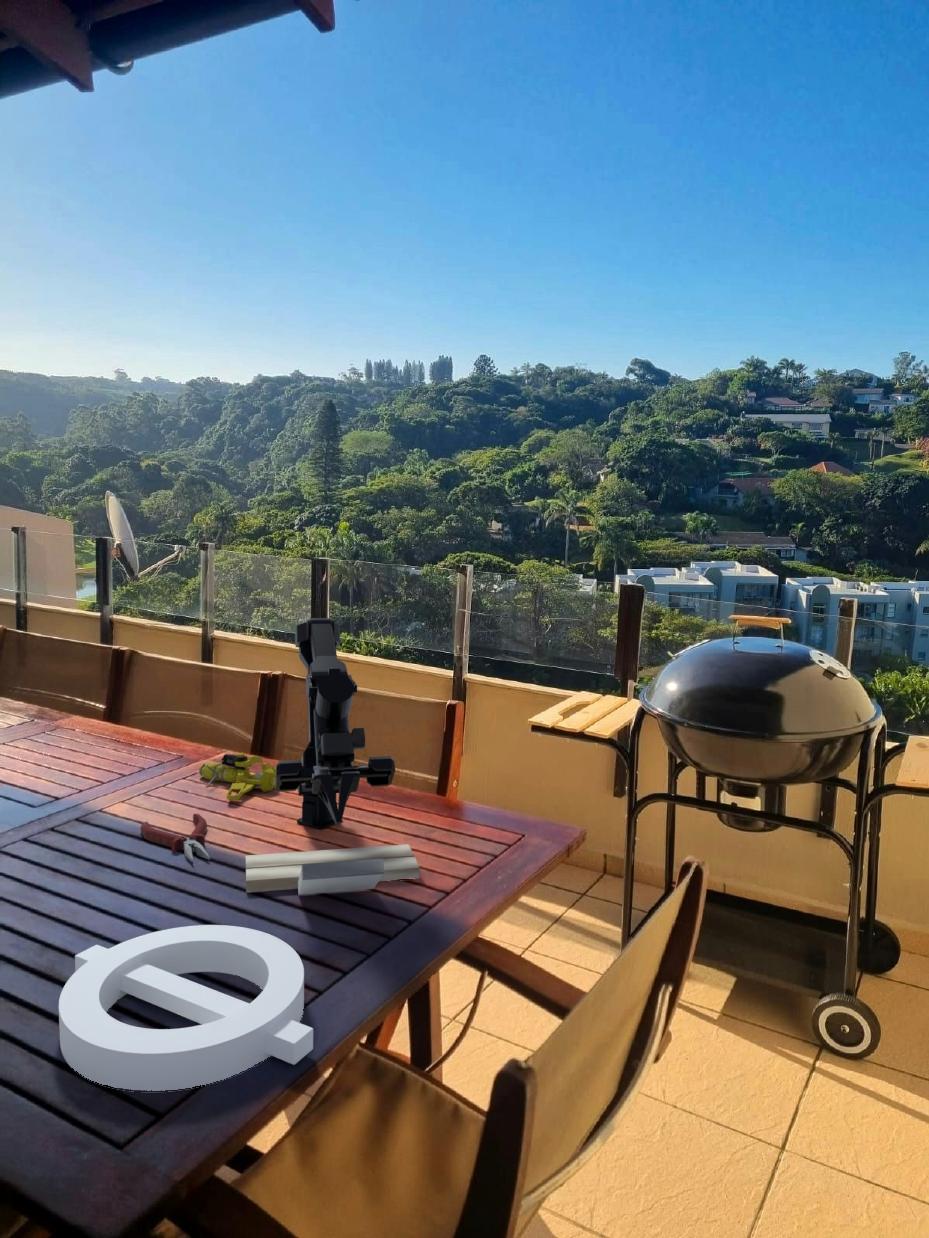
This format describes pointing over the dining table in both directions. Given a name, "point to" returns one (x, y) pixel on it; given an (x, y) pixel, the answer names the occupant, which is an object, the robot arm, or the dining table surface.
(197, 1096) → the dining table surface
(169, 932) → the ring with crossbar
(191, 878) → the dining table surface
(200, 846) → the pliers
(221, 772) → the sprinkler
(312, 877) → the white square slab
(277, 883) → the laid plank
